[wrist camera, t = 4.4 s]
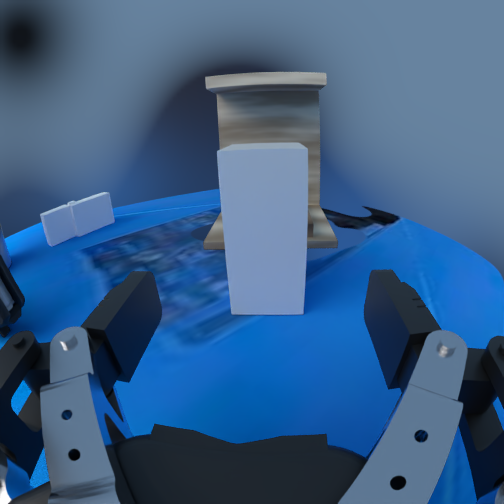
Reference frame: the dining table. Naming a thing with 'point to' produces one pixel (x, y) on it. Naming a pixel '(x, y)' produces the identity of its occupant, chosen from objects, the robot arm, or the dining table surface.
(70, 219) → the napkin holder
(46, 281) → the dining table surface
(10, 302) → the magazine
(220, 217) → the brown wooden upright stand
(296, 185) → the pale elongated brick
